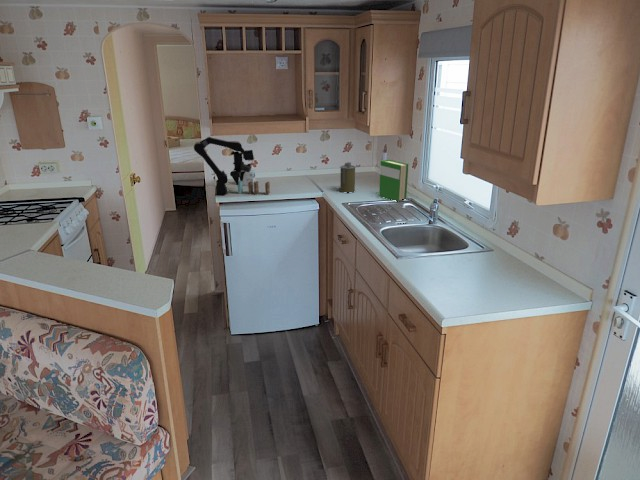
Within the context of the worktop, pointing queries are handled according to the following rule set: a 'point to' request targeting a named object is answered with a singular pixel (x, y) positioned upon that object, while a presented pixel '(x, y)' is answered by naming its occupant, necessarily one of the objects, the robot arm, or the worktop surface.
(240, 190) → the teal domino
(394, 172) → the hardback book
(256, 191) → the domino
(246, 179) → the light bulb box
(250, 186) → the domino
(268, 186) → the domino
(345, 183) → the canister
